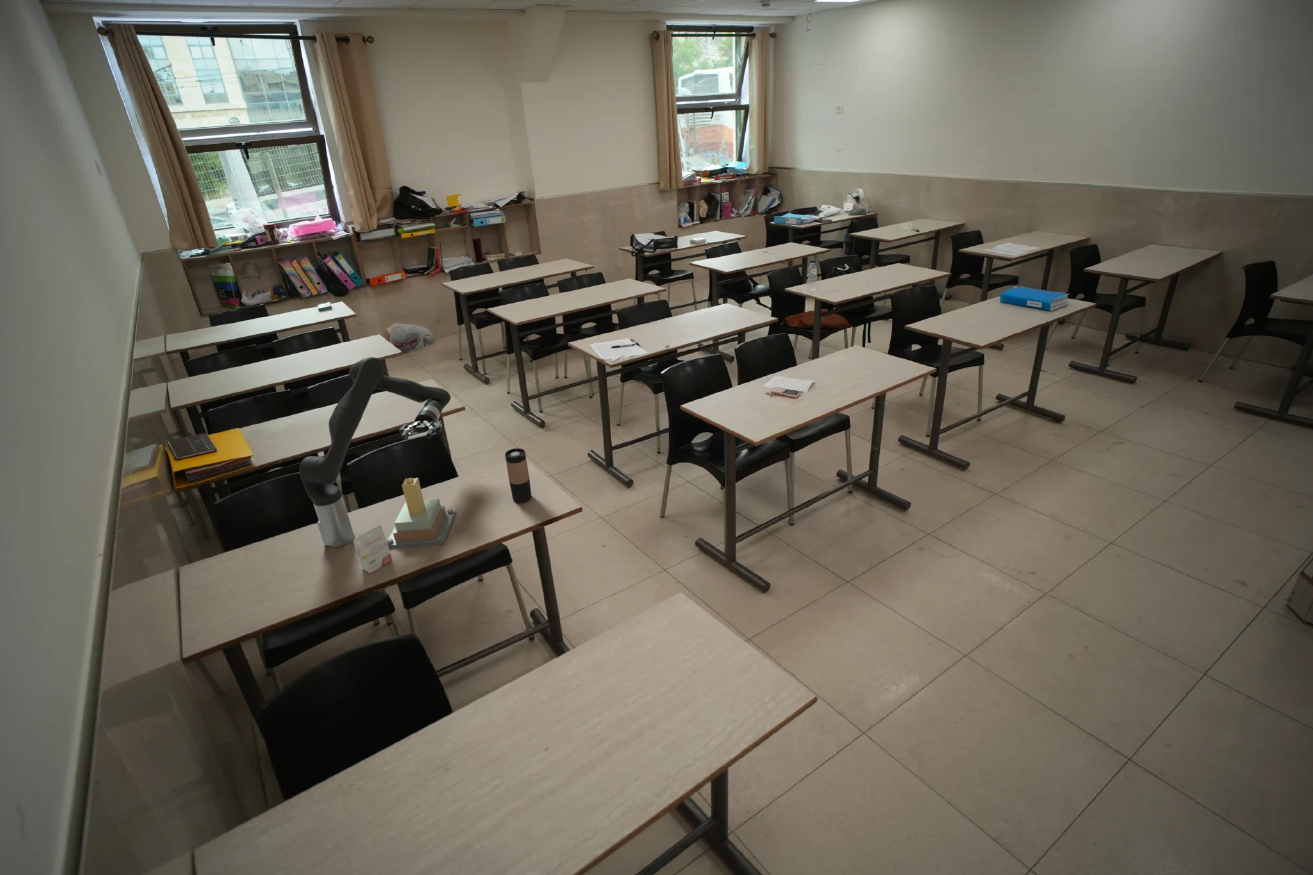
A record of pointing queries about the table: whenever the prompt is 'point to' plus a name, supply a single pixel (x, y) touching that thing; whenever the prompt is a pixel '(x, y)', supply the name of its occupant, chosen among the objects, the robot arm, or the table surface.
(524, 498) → the travel mug
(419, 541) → the layered square stand
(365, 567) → the ink cartridge box
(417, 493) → the ochre brick
